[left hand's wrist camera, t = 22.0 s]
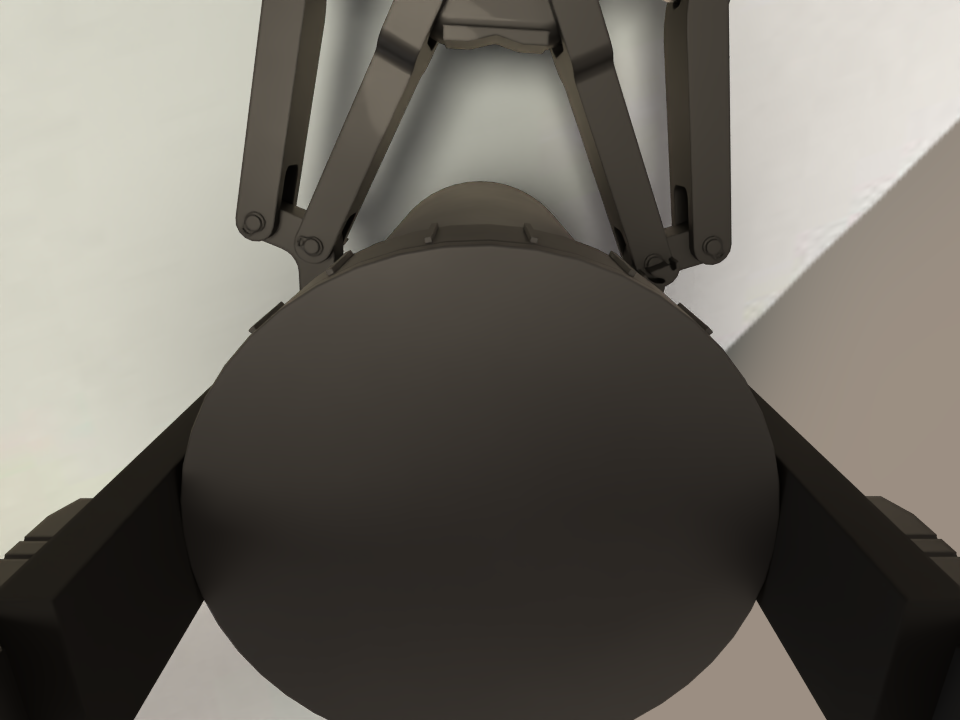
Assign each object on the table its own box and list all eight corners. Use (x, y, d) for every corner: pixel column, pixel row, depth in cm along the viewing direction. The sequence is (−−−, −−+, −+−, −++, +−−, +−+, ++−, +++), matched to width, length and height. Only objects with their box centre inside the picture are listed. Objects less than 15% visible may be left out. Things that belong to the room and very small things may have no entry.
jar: (402, 376, 30) (296, 714, 13) (370, 194, 27) (173, 308, 10) (580, 355, 30) (723, 674, 12) (566, 169, 27) (728, 240, 9)
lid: (118, 425, 12) (46, 483, 10) (550, 96, 10) (567, 87, 8) (433, 733, 14) (425, 827, 12) (820, 523, 12) (882, 596, 11)
